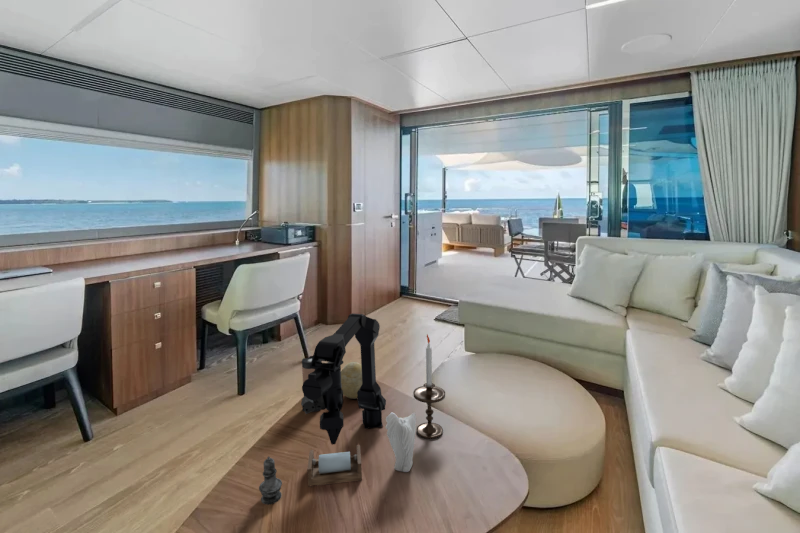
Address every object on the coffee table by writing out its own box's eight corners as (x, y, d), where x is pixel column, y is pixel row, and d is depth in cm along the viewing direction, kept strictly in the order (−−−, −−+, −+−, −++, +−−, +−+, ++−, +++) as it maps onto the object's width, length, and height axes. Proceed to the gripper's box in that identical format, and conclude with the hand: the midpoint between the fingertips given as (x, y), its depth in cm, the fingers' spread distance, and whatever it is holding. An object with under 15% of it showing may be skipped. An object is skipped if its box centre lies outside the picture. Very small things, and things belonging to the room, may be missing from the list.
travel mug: (321, 412, 148) (319, 362, 146) (302, 412, 148) (299, 363, 146) (325, 402, 156) (323, 355, 153) (307, 402, 156) (304, 355, 153)
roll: (350, 463, 116) (349, 447, 115) (350, 474, 111) (350, 458, 111) (320, 466, 115) (319, 451, 114) (319, 477, 110) (318, 462, 109)
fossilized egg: (372, 390, 166) (370, 357, 164) (366, 404, 153) (365, 368, 151) (343, 389, 167) (341, 356, 165) (335, 404, 155) (334, 368, 153)
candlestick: (408, 429, 136) (406, 332, 131) (433, 420, 141) (432, 327, 136) (425, 444, 126) (423, 341, 121) (451, 434, 131) (451, 335, 127)
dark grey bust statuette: (261, 508, 100) (258, 466, 98) (258, 494, 105) (255, 453, 104) (284, 500, 103) (282, 458, 101) (280, 486, 108) (277, 447, 106)
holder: (360, 460, 119) (359, 444, 118) (361, 480, 110) (361, 463, 109) (310, 465, 117) (309, 450, 116) (308, 486, 108) (307, 469, 107)
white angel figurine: (420, 461, 118) (419, 406, 115) (412, 479, 110) (411, 420, 107) (394, 456, 120) (393, 402, 118) (385, 473, 113) (383, 415, 110)
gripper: (305, 373, 118) (308, 420, 120) (298, 401, 99) (302, 457, 101) (342, 370, 119) (344, 417, 121) (342, 398, 101) (344, 453, 103)
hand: (333, 434), depth 112 cm, fingers open, 9 cm apart
